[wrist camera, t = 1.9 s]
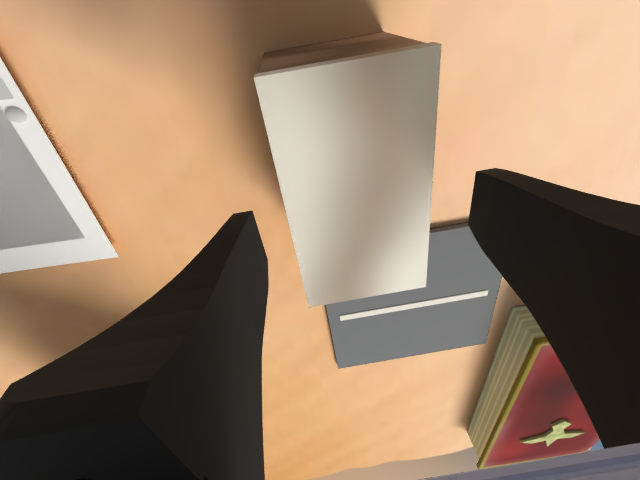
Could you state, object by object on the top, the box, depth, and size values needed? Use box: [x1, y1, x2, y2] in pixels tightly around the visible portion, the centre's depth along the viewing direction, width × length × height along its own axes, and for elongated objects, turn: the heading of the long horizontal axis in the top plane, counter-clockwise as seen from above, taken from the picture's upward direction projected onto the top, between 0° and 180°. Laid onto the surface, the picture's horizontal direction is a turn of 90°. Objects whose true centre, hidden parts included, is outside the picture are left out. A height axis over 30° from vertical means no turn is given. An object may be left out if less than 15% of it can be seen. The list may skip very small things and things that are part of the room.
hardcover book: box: [467, 305, 600, 470], centre depth 30 cm, size 12×21×4 cm, turn 6°
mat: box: [326, 222, 502, 369], centre depth 23 cm, size 12×12×1 cm
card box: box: [254, 32, 441, 307], centre depth 14 cm, size 5×9×6 cm, turn 8°
